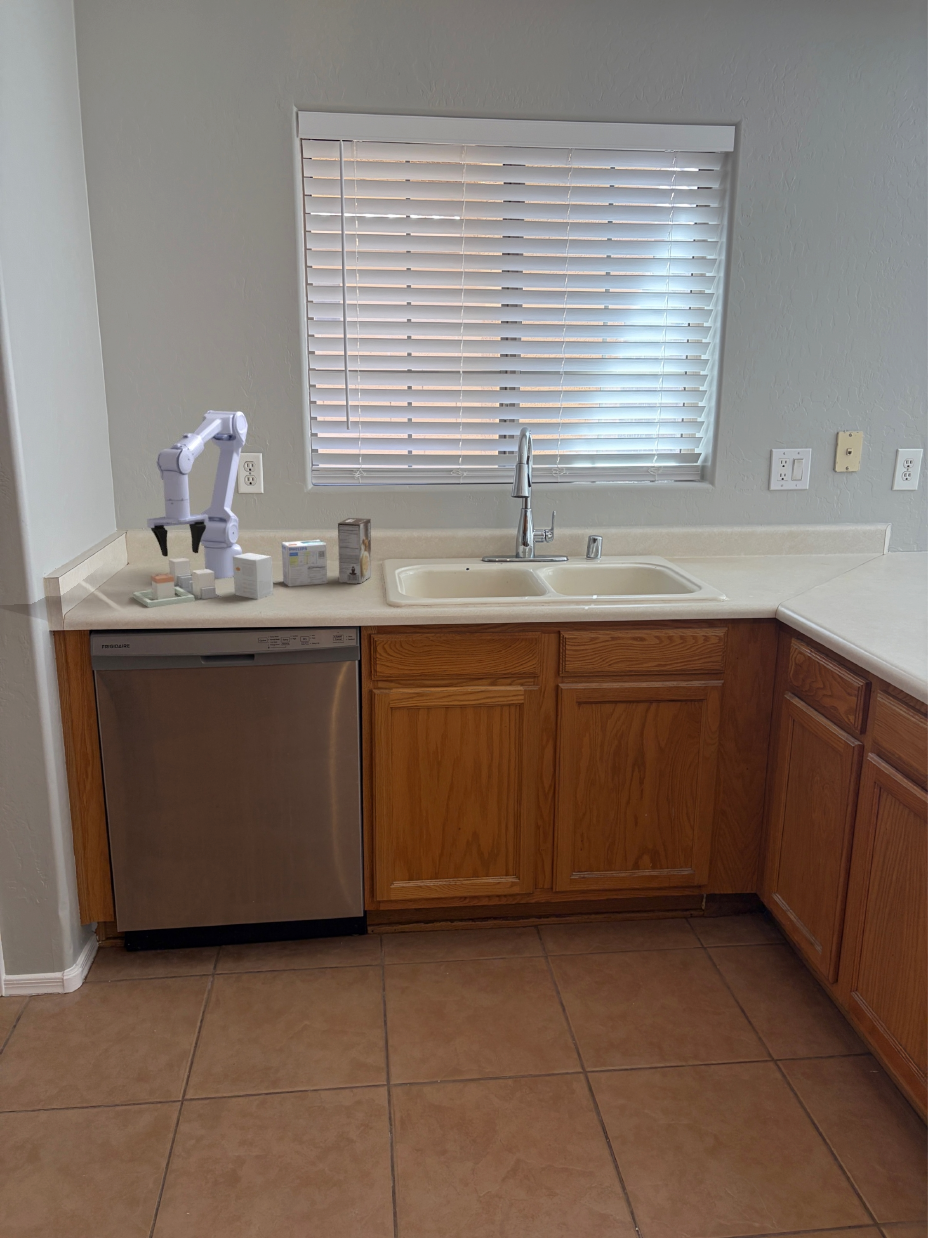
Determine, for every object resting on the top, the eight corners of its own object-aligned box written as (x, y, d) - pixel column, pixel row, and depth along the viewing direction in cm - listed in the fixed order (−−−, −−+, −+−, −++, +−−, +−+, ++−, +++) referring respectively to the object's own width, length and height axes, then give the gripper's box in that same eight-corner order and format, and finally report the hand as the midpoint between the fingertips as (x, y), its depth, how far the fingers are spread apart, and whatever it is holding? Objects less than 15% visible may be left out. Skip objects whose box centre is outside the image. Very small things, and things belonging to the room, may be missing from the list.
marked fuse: (169, 597, 224) (167, 573, 222) (175, 601, 220) (173, 576, 219) (152, 599, 221) (150, 575, 220) (158, 603, 218) (156, 578, 216)
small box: (274, 598, 227) (272, 556, 225) (257, 602, 223) (256, 560, 220) (250, 593, 232) (249, 552, 229) (234, 597, 227) (232, 555, 224)
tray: (178, 594, 228) (177, 586, 228) (194, 604, 220) (194, 596, 219) (133, 600, 222) (132, 592, 222) (148, 610, 214) (148, 602, 213)
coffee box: (349, 575, 253) (348, 517, 249) (371, 576, 252) (371, 518, 248) (338, 582, 245) (337, 522, 240) (361, 584, 243) (360, 523, 239)
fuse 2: (209, 592, 228) (207, 568, 226) (215, 595, 225) (214, 571, 223) (193, 594, 226) (192, 570, 224) (199, 598, 222) (198, 573, 221)
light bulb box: (320, 578, 249) (319, 538, 246) (328, 583, 243) (327, 543, 240) (281, 581, 245) (280, 541, 242) (288, 587, 239) (287, 546, 236)
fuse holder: (187, 581, 242) (186, 569, 241) (221, 599, 225) (220, 586, 224) (165, 584, 238) (164, 571, 238) (197, 603, 221) (197, 589, 220)
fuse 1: (185, 579, 240) (184, 557, 239) (191, 582, 237) (189, 560, 235) (170, 581, 238) (168, 558, 236) (175, 584, 235) (174, 561, 233)
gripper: (152, 503, 216) (156, 560, 220) (211, 499, 225) (214, 553, 229) (142, 499, 222) (146, 554, 226) (201, 495, 230) (203, 548, 234)
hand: (180, 554), depth 227 cm, fingers open, 7 cm apart
